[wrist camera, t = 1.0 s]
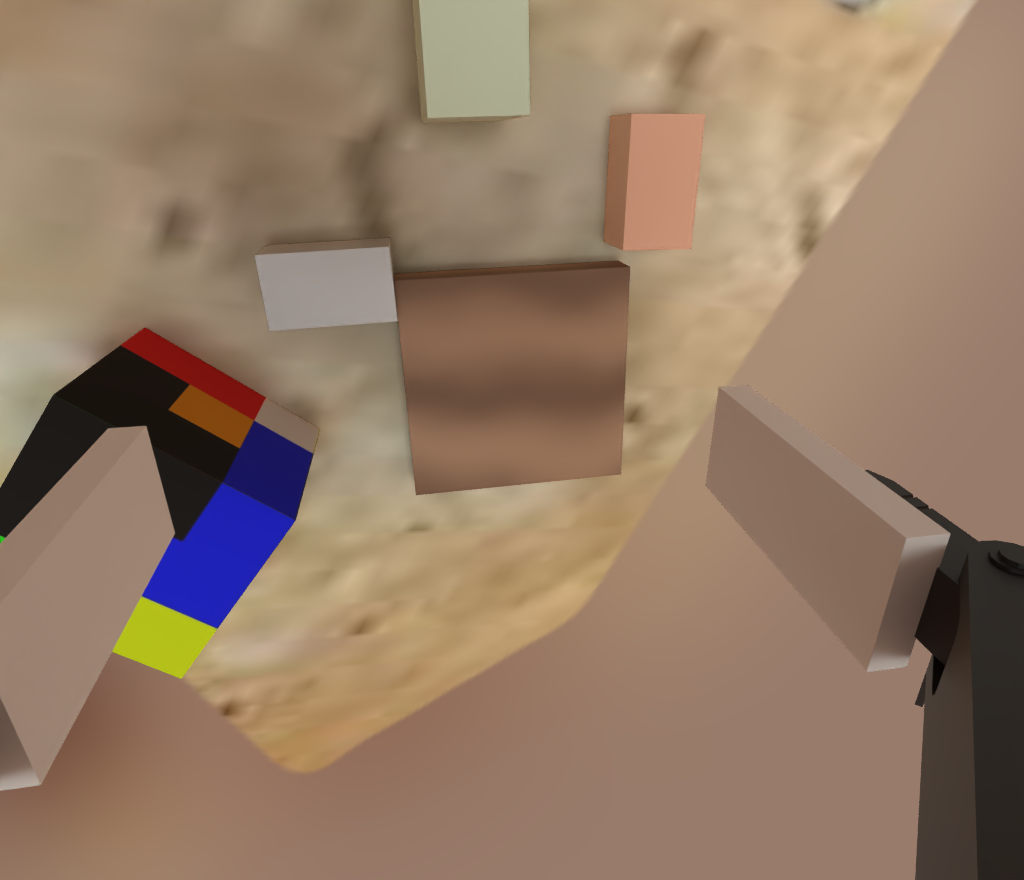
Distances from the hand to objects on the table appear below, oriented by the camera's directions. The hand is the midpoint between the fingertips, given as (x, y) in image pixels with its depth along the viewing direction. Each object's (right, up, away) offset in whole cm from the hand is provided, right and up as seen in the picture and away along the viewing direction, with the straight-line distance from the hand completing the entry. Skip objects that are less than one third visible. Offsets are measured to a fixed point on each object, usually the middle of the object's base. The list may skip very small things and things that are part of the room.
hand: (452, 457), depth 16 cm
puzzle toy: (-16, 0, +21) cm, 27 cm away
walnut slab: (+1, +4, +22) cm, 22 cm away
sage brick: (-1, +19, +15) cm, 24 cm away
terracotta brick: (+8, +14, +19) cm, 25 cm away
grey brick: (-8, +9, +19) cm, 22 cm away
